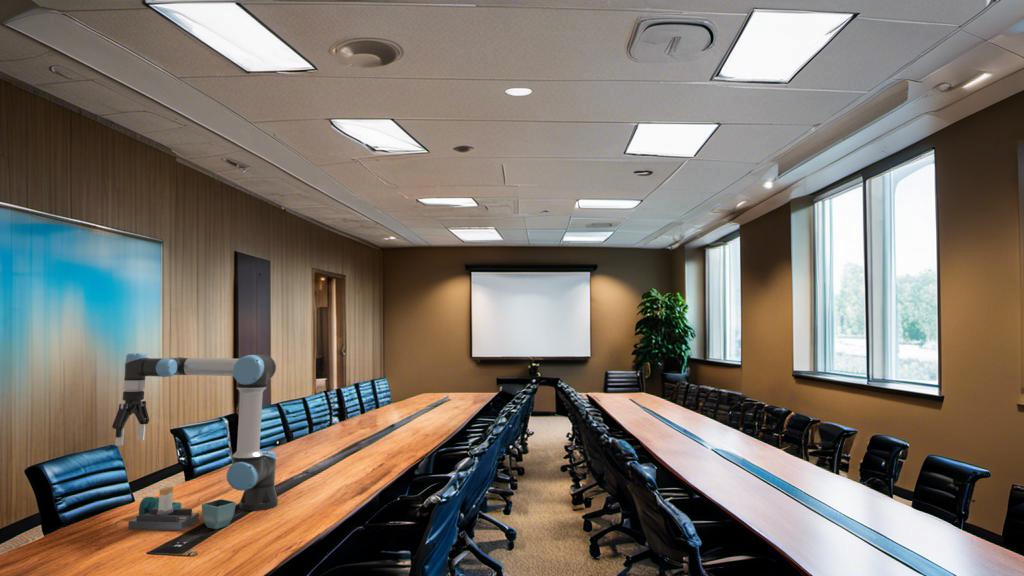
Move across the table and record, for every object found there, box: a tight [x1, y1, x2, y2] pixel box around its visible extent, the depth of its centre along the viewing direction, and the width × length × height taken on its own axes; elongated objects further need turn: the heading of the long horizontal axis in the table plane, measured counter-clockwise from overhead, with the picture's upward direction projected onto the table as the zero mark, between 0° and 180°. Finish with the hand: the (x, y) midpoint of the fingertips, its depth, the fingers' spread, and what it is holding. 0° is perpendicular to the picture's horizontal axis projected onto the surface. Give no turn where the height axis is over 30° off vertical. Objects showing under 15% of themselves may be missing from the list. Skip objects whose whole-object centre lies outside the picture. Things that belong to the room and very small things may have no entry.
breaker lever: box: [156, 486, 174, 515], centre depth 231 cm, size 3×6×10 cm, turn 0°
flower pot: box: [201, 498, 237, 530], centre depth 230 cm, size 9×9×9 cm
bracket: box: [138, 496, 182, 515], centre depth 247 cm, size 18×7×8 cm, turn 172°
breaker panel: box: [127, 512, 200, 531], centre depth 231 cm, size 20×12×3 cm, turn 90°
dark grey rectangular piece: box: [136, 508, 193, 522], centre depth 231 cm, size 15×11×2 cm
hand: (130, 442), depth 249 cm, fingers open, 13 cm apart
